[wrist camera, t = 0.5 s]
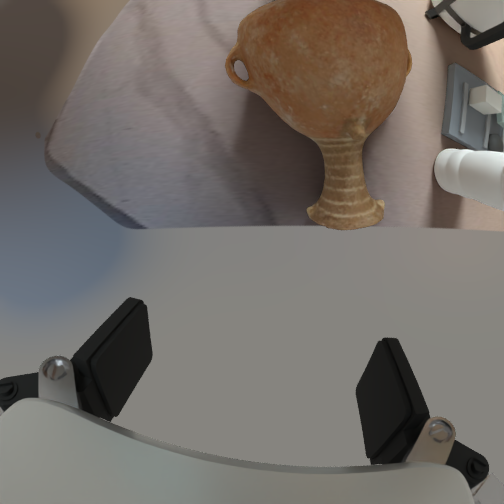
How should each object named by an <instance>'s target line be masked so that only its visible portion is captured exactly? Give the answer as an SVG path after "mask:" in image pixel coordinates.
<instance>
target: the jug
mask: <svg viewBox="0 0 504 504" xmlns="http://www.w3.org/2000/svg"><path fill="white" fill-rule="evenodd" d="M237 60H240V61H242V62H243V63H244V65H245V67H246V69H247V71H248V75H249V79H248V80H247V81H245V80H242V79H241V78H240V77H239V76H237V74H236V73H235V71H234V63H235V61H237ZM411 67H412V58H411V54H410V52H409V50H408V47H407V39H406V33H405V28H404V25H403V23H402V20H401V18H400V16H399V15H398V13H397V12H396V11H395V10H394V9H393V8H392V7H390V6H388V5H386V4H383V3H381V2H378V1H376V0H277V1H274V2H271V3H268V4H266V5H264V6H261V7H259V8H258V9H256V10H255V11H253V12H252V13H250V14H248V15H247V16H246V17H245V18H244V19H243V20H242V21H241V23H240V24H239V28H238V38H237V43H236V45H235V46H234V47H233V48H232V49H231V51H230V53H229V55H228V57H227V59H226V63H225V68H226V71H227V74H228V76H229V77H230V79H231V80H232V82H233V83H235V84H237V85H238V86H240V87H242V88H245V89H248V90H249V91H252V92H254V93H256V94H257V95H259V96H261V97H262V98H263V99H264V100H265V102H266V103H267V104H268V105H269V106H270V107H271V108H272V109H273V110H274V111H275V113H276V114H277V115H278V116H279V117H280V118H281V119H282V120H283V121H284V122H286V123H287V124H288V125H289V126H290V127H291V128H293V129H294V130H296V131H298V132H300V133H302V134H303V135H305V136H307V137H309V138H310V139H312V140H313V141H314V142H316V143H317V145H318V146H319V148H320V150H321V152H322V155H323V159H324V166H325V179H324V187H323V190H322V194H321V196H320V198H319V199H318V201H317V202H316V203H315V204H313V205H312V206H311V207H308V208H307V214H308V216H309V218H310V219H312V221H314V222H316V223H317V224H319V225H322V226H326V227H327V228H332V229H337V230H352V229H358V228H364V227H369V226H372V225H374V224H377V223H378V222H379V221H381V220H382V219H383V215H384V206H385V203H384V201H382V200H374V199H372V198H371V197H370V195H369V193H368V191H367V188H366V184H365V179H364V173H363V165H362V148H363V145H364V142H365V140H366V138H367V137H368V136H369V135H370V134H371V133H372V132H373V131H374V130H375V129H376V128H377V127H378V126H379V125H380V124H382V123H383V122H384V121H385V119H386V118H387V117H388V116H389V115H390V113H391V112H392V111H393V109H394V108H395V106H396V104H397V102H398V100H399V97H400V95H401V93H402V90H403V87H404V84H405V80H406V76H407V75H408V74H409V72H410V70H411Z"/></svg>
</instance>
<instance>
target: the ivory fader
mask: <svg viewBox="0 0 504 504" xmlns="http://www.w3.org/2000/svg"><path fill="white" fill-rule="evenodd" d="M468 105H470V106H471V107H473V108H474V109H476V110H477V111H479V112H480V113H482V114H483V115H485V114H495V113H501V110H502V96H501V95H500V94H498V93H497V92H496V91H495V90H493V89H492V88H490V87H489V86H488V85H483V86H479V87H475V88H471V89H469V104H468Z"/></svg>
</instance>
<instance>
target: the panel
mask: <svg viewBox="0 0 504 504" xmlns="http://www.w3.org/2000/svg"><path fill="white" fill-rule="evenodd" d="M483 85H488V84H487V83H486V82H484V81H483V80H481V79H480V78H478V77H477V76H475V75H474V74H472V73H471V72H469V71H468V70H466V69H465V68H463V67H461V66H460V65H458V64H457V63H453V64H451V65H449V66H448V77H447V91H446V102H445V110H444V118H443V125H442V132H441V134H443V135H445V136H446V137H448V138H450V139H452V140H454V141H456V142H458V143H460V144H461V145H463V146H465V147H467V148H469V149H470V150H473V151H495V152H503V153H504V128H503V127H502V126H500V125H499V124H498V123H497V114H496V113H495V114H485V115H483V114H482V113H480V112H479V111H477V110H476V109H474V108H473V107H471V106H470V105H468V104H469V89H471V88H475V87H479V86H483ZM488 86H489V87H490V88H492V87H491V86H490V85H488ZM492 89H493V90H495V89H494V88H492ZM495 91H496V90H495ZM496 92H498V91H496Z"/></svg>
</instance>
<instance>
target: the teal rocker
mask: <svg viewBox="0 0 504 504" xmlns="http://www.w3.org/2000/svg"><path fill="white" fill-rule="evenodd" d="M497 93H498V94H500V95H501V96H502V110H501V113H496V114H497V123H498V124H499V125H500V126H502V127H503V128H504V95H503V94H502V93H501V92H500V91H498V92H497Z"/></svg>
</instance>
